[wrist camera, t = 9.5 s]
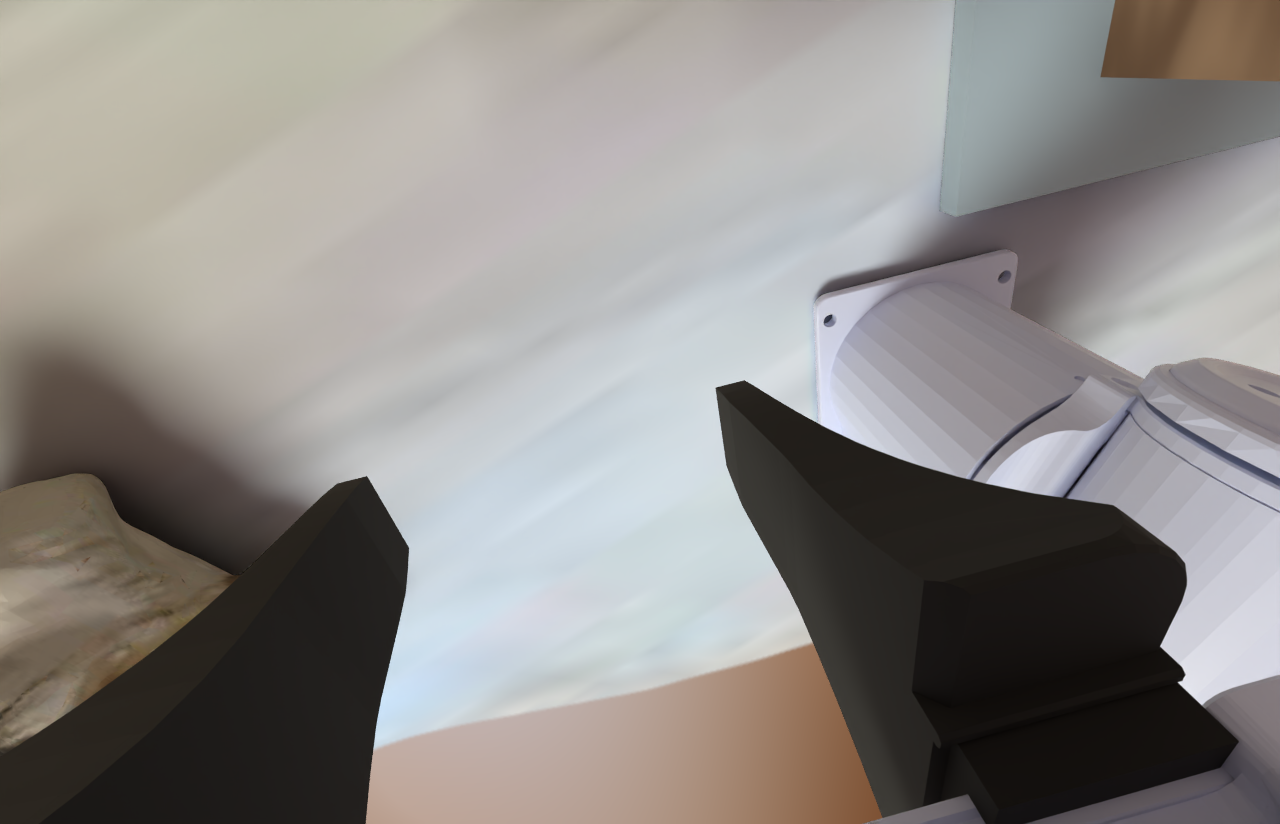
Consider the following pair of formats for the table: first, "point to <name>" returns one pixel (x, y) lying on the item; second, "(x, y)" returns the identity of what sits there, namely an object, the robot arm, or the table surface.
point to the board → (1072, 106)
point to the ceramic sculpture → (82, 598)
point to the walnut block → (1194, 40)
